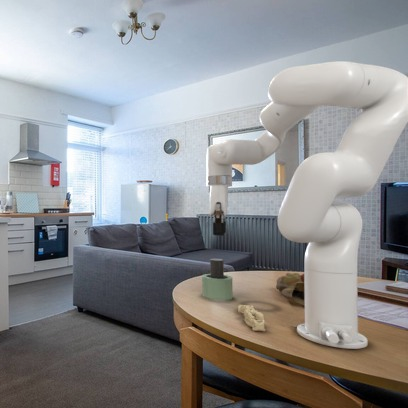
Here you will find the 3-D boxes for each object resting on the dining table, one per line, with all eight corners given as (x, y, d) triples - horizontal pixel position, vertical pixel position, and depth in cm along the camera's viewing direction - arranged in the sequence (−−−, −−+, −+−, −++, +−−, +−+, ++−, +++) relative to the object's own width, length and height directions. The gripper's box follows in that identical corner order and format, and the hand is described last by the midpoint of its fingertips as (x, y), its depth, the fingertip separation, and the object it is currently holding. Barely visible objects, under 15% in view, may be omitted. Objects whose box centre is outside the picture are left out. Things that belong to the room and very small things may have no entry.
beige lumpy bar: (270, 333, 78) (270, 318, 78) (253, 332, 79) (253, 317, 79) (245, 310, 95) (245, 298, 95) (231, 309, 96) (231, 297, 96)
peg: (223, 298, 105) (223, 260, 106) (210, 296, 107) (209, 260, 107) (224, 295, 109) (223, 259, 109) (211, 293, 111) (210, 258, 111)
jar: (232, 303, 102) (232, 280, 102) (201, 299, 106) (200, 278, 106) (232, 296, 110) (232, 275, 110) (203, 293, 114) (203, 272, 114)
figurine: (283, 280, 97) (275, 265, 115) (282, 310, 97) (273, 290, 115) (347, 288, 90) (327, 270, 108) (345, 319, 91) (326, 297, 109)
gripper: (209, 183, 118) (209, 231, 118) (204, 181, 103) (204, 235, 103) (232, 183, 115) (233, 232, 115) (231, 180, 99) (231, 237, 99)
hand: (219, 233), depth 109 cm, fingers open, 9 cm apart
